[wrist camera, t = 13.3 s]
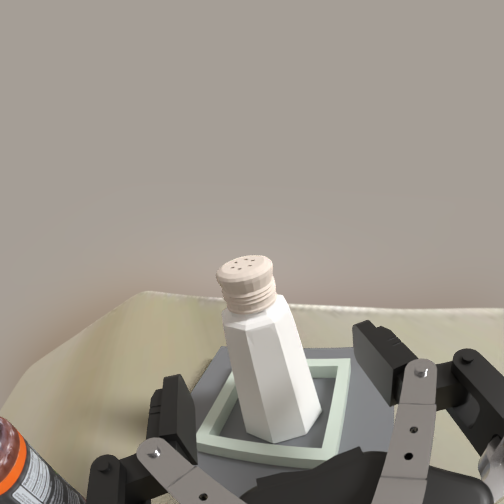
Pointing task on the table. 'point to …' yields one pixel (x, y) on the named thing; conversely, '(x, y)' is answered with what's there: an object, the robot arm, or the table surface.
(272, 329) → the pepper shaker
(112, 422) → the table surface
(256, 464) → the baseplate
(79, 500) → the supplement bottle
